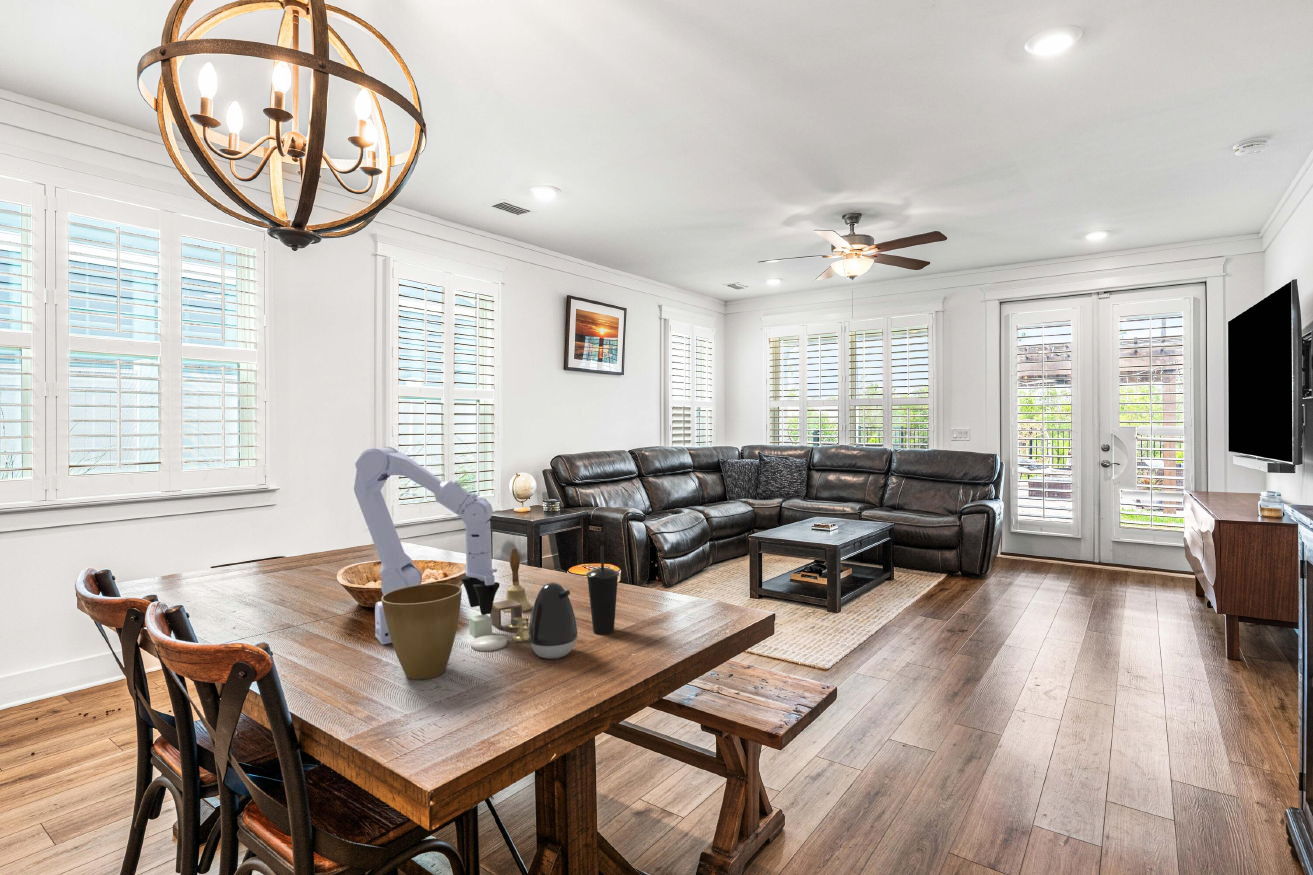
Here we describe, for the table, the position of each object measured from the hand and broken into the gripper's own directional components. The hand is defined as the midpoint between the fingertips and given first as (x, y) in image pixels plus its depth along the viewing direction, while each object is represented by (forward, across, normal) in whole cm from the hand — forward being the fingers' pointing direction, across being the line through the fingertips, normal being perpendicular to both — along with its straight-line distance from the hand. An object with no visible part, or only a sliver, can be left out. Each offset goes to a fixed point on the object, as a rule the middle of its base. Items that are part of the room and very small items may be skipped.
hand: (480, 610), depth 152 cm
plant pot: (+6, -16, +17) cm, 24 cm away
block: (+6, 0, 0) cm, 6 cm away
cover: (+6, +4, -7) cm, 10 cm away
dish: (+6, -8, +1) cm, 10 cm away
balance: (+6, -9, -6) cm, 12 cm away
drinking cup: (+6, -15, -24) cm, 29 cm away
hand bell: (+6, +16, -15) cm, 22 cm away
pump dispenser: (+6, -22, -8) cm, 24 cm away
